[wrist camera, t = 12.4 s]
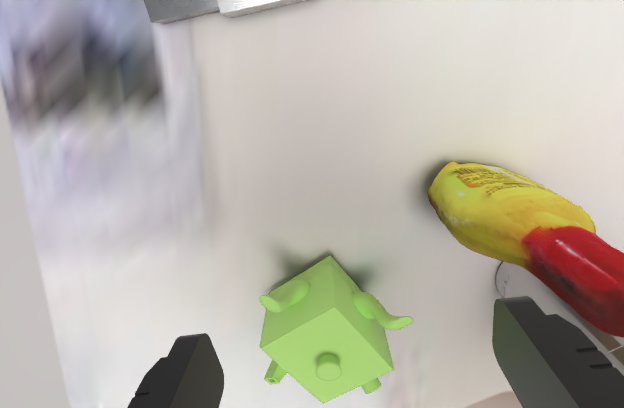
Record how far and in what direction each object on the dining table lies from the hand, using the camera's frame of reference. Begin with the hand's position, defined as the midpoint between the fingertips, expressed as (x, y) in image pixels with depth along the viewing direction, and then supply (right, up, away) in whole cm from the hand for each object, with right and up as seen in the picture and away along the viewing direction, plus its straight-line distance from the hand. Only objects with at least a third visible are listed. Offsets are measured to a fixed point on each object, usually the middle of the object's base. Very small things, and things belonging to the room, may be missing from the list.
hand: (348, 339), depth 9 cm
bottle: (+16, +6, +27) cm, 32 cm away
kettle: (+1, -7, +33) cm, 33 cm away
